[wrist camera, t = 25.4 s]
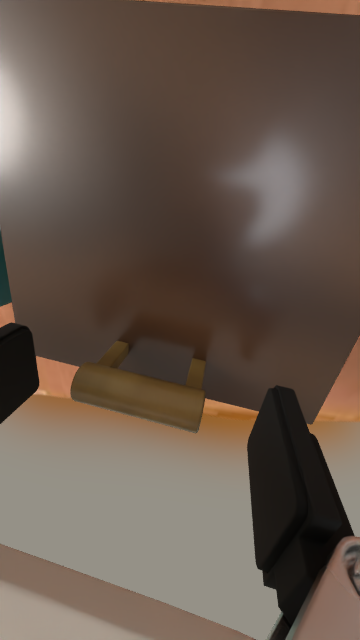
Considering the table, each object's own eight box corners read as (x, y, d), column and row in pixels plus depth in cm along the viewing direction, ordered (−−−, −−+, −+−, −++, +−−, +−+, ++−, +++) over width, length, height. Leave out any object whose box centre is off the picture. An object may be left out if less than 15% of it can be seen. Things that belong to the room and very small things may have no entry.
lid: (307, 413, 13) (345, 508, 9) (29, 345, 15) (-50, 396, 10) (495, 44, 7) (917, -229, 3) (-18, 6, 9) (-248, -190, 4)
